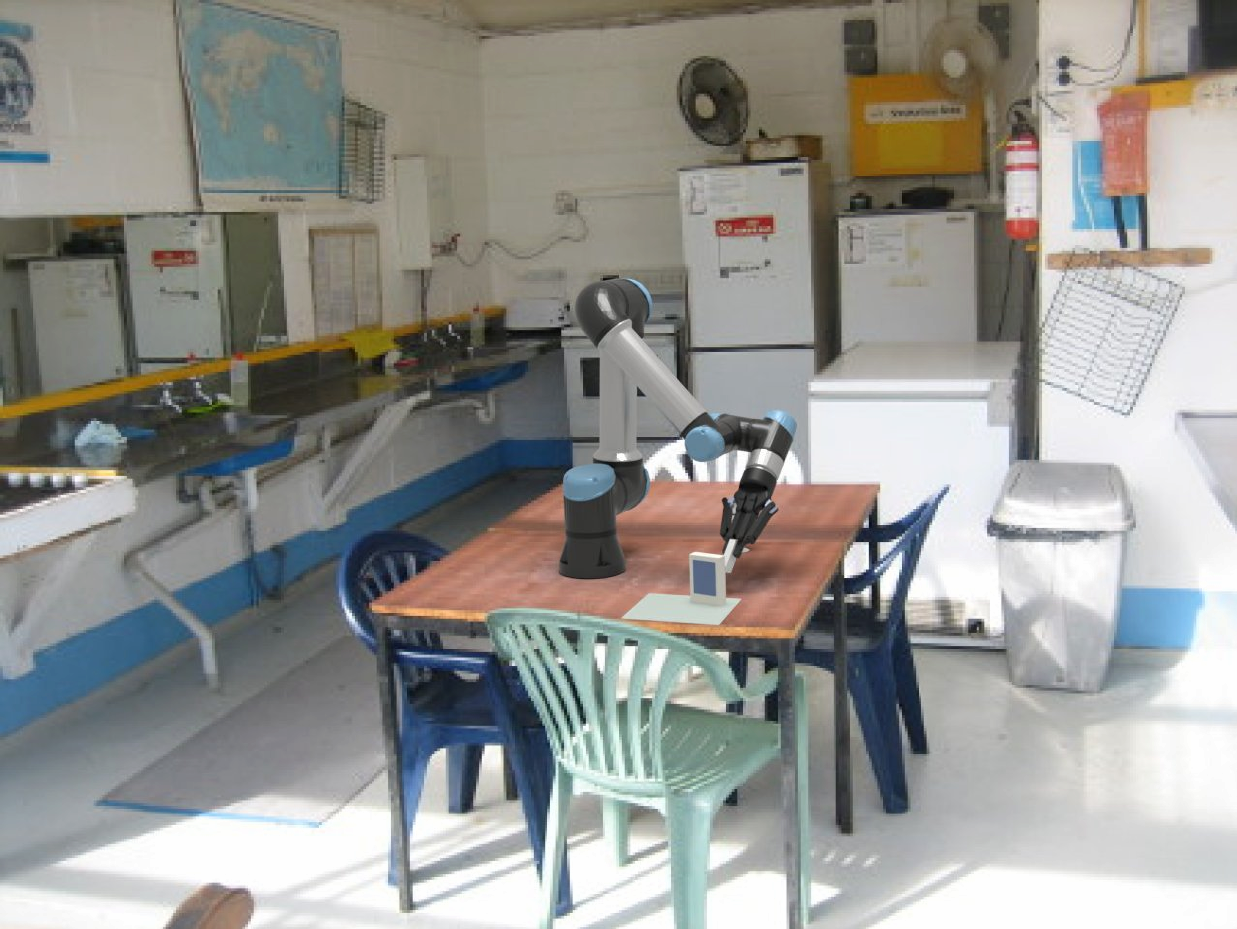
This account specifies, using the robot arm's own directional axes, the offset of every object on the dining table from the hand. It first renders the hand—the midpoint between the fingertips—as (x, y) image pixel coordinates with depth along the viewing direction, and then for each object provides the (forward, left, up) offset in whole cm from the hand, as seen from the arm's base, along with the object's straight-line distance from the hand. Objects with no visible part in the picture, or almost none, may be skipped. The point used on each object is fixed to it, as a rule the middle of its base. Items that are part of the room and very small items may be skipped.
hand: (725, 569), depth 275 cm
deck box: (-2, -6, -5) cm, 8 cm away
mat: (-6, -11, -6) cm, 14 cm away
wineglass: (-7, +39, -6) cm, 40 cm away
